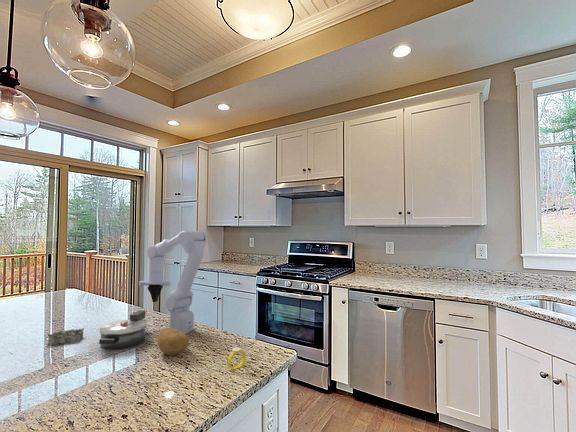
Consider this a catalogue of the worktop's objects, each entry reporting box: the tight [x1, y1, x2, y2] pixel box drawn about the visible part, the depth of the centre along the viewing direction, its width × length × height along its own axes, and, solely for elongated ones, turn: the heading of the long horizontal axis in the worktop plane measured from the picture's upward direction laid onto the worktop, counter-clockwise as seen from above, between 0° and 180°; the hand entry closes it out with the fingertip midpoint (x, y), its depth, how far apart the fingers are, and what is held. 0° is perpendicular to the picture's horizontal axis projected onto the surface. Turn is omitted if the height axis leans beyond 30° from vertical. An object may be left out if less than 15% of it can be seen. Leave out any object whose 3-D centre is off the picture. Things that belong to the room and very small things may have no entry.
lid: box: [99, 309, 148, 336], centre depth 117 cm, size 22×16×3 cm
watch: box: [227, 346, 246, 371], centre depth 93 cm, size 6×3×6 cm, turn 136°
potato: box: [156, 327, 190, 356], centre depth 104 cm, size 10×14×8 cm
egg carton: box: [47, 327, 85, 346], centre depth 115 cm, size 11×8×4 cm
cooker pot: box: [98, 319, 147, 351], centre depth 115 cm, size 24×15×5 cm, turn 178°
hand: (155, 301), depth 135 cm, fingers closed
